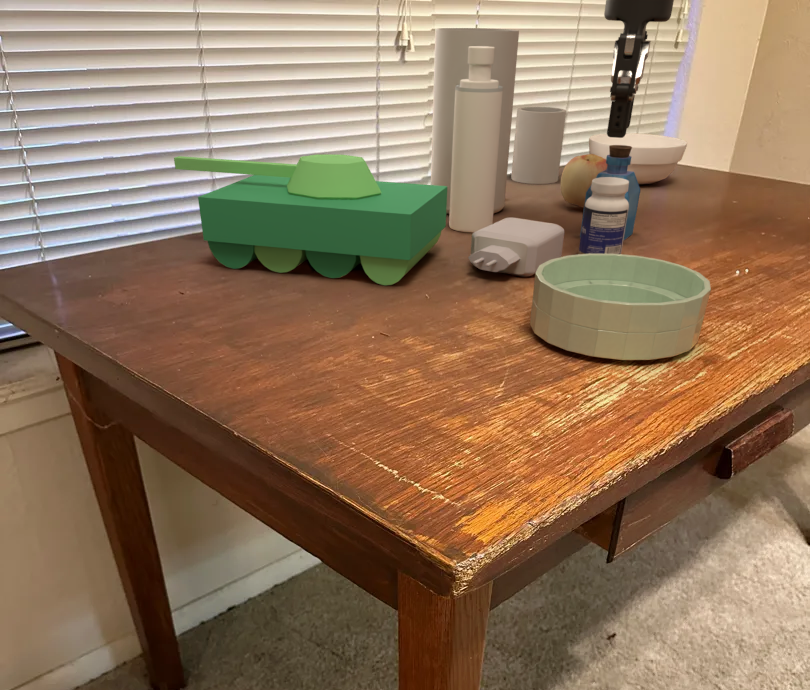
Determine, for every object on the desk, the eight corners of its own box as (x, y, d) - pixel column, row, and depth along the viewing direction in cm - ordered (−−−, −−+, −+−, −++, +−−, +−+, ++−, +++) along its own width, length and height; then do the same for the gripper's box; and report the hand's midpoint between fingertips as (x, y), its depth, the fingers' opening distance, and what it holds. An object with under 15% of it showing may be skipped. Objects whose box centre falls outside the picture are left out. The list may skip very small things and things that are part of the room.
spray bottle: (451, 221, 120) (460, 31, 105) (493, 223, 119) (508, 32, 104) (446, 231, 114) (455, 33, 100) (490, 233, 114) (505, 34, 99)
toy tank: (206, 139, 106) (448, 154, 98) (217, 231, 113) (444, 252, 105) (136, 159, 92) (411, 178, 84) (153, 262, 99) (409, 289, 91)
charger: (446, 278, 95) (499, 251, 106) (512, 291, 91) (560, 262, 102) (448, 239, 92) (502, 215, 103) (516, 250, 89) (565, 225, 99)
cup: (521, 184, 144) (528, 113, 137) (504, 175, 151) (510, 107, 144) (565, 183, 146) (574, 112, 139) (546, 174, 153) (554, 106, 146)
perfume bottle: (620, 243, 110) (636, 151, 103) (579, 237, 113) (592, 147, 106) (632, 234, 115) (648, 145, 108) (593, 228, 117) (606, 142, 110)
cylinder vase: (432, 199, 133) (437, 27, 118) (503, 201, 132) (518, 29, 117) (427, 215, 123) (432, 30, 108) (504, 218, 122) (520, 31, 107)
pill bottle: (580, 252, 106) (591, 174, 100) (622, 256, 104) (635, 177, 99) (574, 262, 102) (585, 182, 96) (617, 267, 100) (631, 186, 94)
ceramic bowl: (716, 327, 82) (730, 271, 79) (665, 380, 70) (679, 317, 67) (569, 297, 90) (576, 245, 86) (501, 340, 78) (507, 282, 75)
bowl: (627, 169, 158) (633, 130, 154) (698, 184, 146) (708, 142, 142) (564, 177, 150) (569, 137, 146) (634, 194, 138) (642, 150, 134)
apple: (583, 200, 133) (591, 150, 129) (621, 210, 127) (630, 158, 123) (546, 206, 129) (552, 154, 125) (583, 216, 123) (591, 162, 119)
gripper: (679, -33, 78) (646, 142, 88) (679, -28, 89) (651, 127, 99) (605, -33, 80) (581, 138, 89) (615, -29, 91) (593, 123, 100)
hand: (618, 132), depth 94 cm, fingers open, 8 cm apart
